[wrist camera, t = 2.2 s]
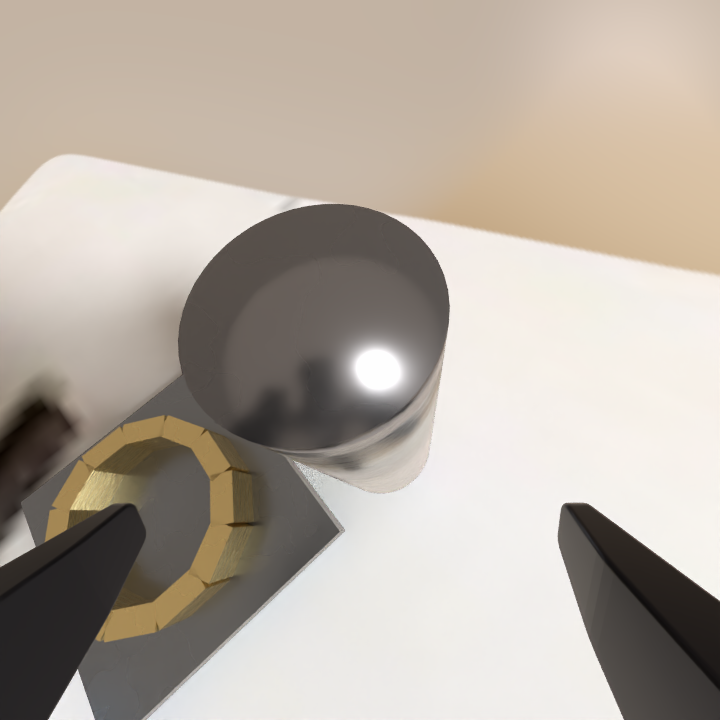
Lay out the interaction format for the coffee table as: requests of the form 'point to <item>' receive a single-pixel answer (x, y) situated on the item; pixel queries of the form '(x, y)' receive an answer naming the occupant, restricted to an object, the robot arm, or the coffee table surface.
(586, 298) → the coffee table surface
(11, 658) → the robot arm
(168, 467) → the plate with tan ring
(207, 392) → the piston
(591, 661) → the coffee table surface
